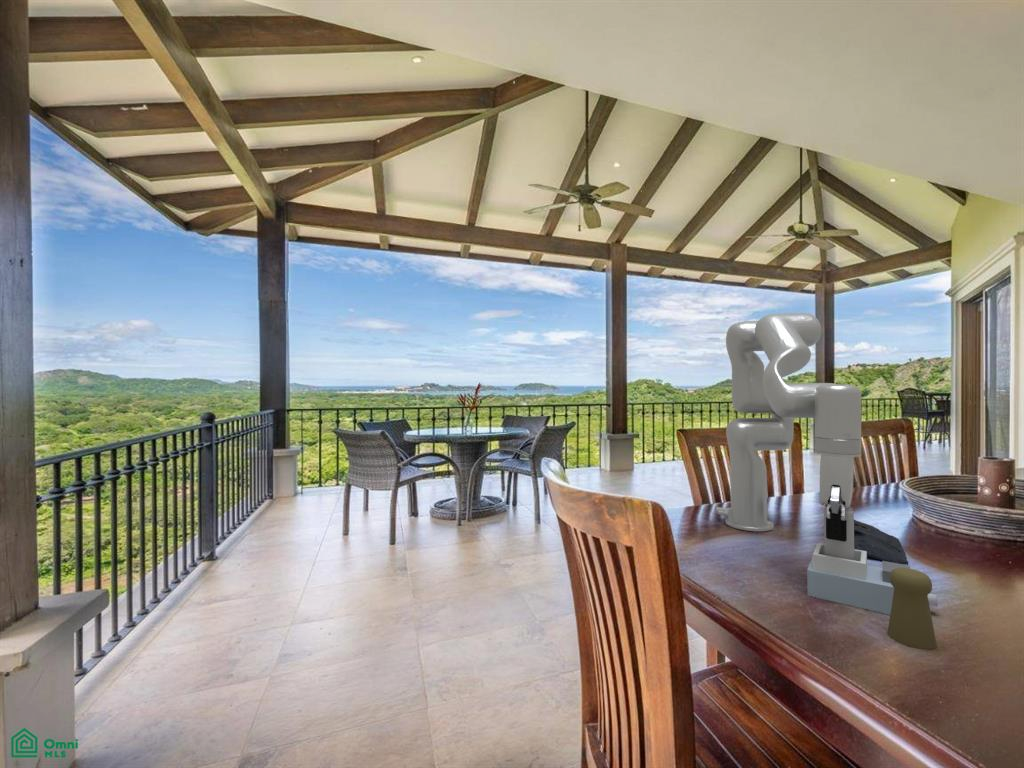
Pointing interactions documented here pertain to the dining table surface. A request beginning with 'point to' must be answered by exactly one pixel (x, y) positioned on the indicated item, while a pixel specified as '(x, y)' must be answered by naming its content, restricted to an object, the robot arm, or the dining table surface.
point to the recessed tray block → (853, 581)
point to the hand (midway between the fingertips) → (838, 532)
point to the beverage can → (840, 547)
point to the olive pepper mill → (911, 609)
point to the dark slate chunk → (878, 544)
